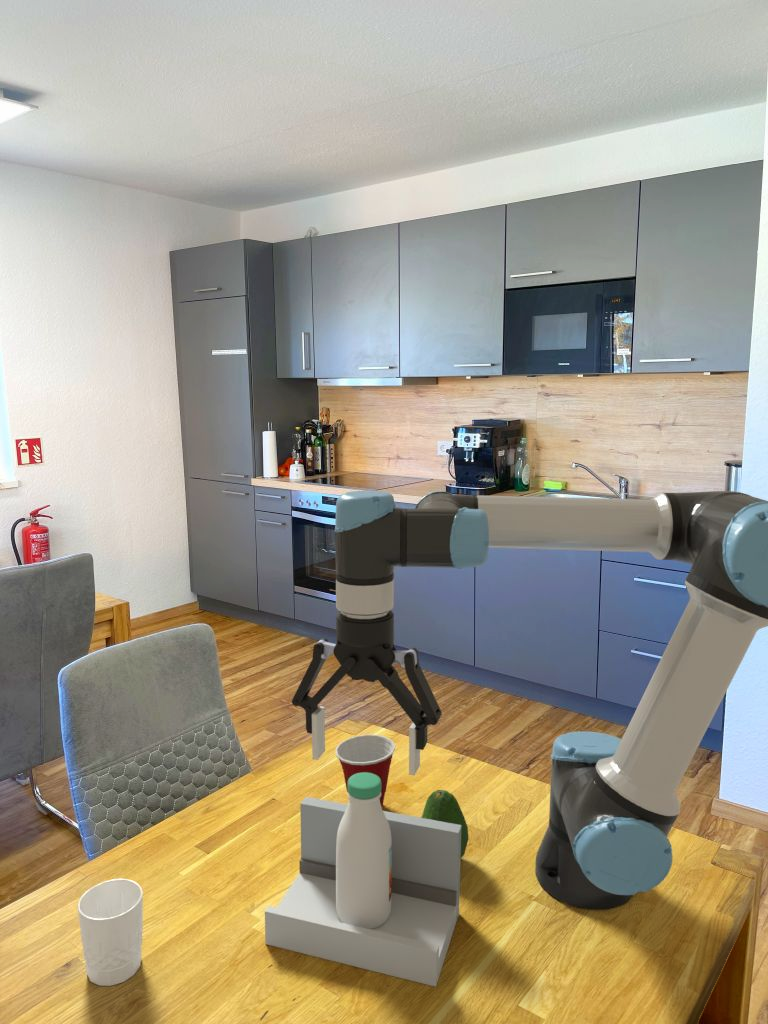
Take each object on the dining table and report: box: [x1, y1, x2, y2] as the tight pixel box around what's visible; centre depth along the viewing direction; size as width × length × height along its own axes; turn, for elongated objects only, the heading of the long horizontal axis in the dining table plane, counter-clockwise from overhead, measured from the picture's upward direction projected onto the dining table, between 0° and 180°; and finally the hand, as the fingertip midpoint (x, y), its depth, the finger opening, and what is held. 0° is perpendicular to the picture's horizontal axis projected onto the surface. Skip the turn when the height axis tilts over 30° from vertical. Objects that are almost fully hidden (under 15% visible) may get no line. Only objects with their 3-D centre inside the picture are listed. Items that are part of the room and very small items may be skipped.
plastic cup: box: [334, 734, 396, 808], centre depth 135 cm, size 11×11×12 cm
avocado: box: [421, 789, 469, 860], centre depth 120 cm, size 8×8×12 cm
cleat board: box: [264, 796, 462, 988], centre depth 105 cm, size 24×14×14 cm, turn 72°
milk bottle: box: [336, 772, 392, 929], centre depth 103 cm, size 8×8×20 cm
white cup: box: [77, 878, 144, 987], centre depth 98 cm, size 8×8×10 cm
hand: (365, 762), depth 101 cm, fingers open, 13 cm apart
